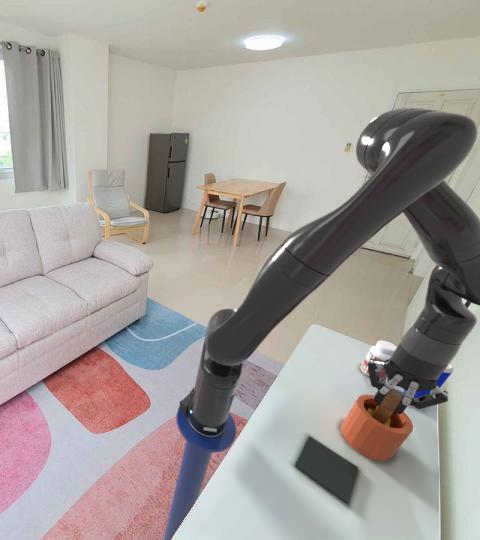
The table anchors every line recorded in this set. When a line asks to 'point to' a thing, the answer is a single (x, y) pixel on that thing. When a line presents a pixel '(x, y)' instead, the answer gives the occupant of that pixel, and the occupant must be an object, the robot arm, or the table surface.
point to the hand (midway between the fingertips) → (386, 407)
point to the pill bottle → (379, 356)
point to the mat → (327, 468)
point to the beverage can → (440, 381)
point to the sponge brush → (386, 407)
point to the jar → (374, 430)
